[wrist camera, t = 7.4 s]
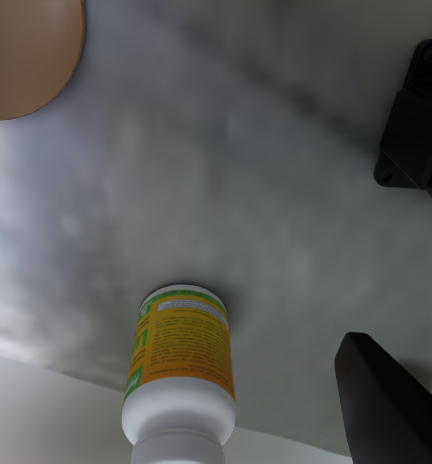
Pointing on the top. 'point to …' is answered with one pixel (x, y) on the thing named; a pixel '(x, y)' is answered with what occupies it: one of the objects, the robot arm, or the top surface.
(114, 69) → the top surface
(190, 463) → the supplement bottle
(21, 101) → the coaster
